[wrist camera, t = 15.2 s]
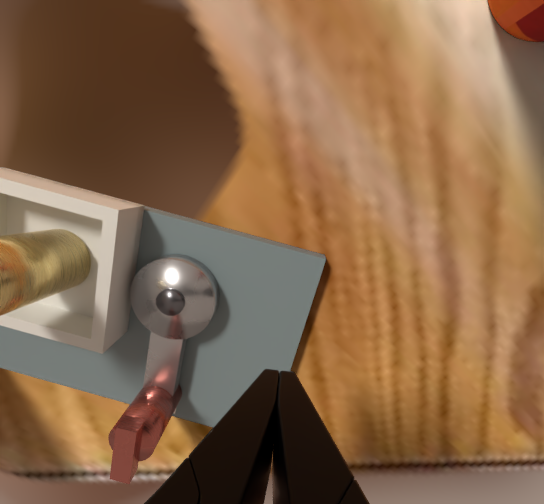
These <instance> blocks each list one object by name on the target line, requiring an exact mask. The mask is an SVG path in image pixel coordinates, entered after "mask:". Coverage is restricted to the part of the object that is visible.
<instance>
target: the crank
mask: <svg viewBox="0 0 544 504" xmlns="http://www.w3.org/2000/svg"><path fill="white" fill-rule="evenodd" d="M130 300H131V305H132V308H133V311H134V313H135V315H136V316H137V318H138V319H139V321H140V322H141V323H142V324H143V325H144V326H145V327H146V328H147V329H149V330H150V331H151V335H150V342H149V349H148V356H147V363H146V370H145V377H144V384H143V388H142V389H141V390H140V392H139V393H138V394H137V396H136V397H135V399H134V400H133V401H132V403H131V404H130V405H129V407H128V408H127V410H126V411H125V412H124V414H123V415H122V416H121V418H120V419H119V420H118V422H117V423H116V425H115V426H114V427H113V429H112V430H111V432H110V434H109V444H110V446H111V448H112V450H113V456H112V464H111V473H110V479H112V480H116V481H119V482H123V483H127V484H130V482H131V480H132V478H133V476H134V475H135V473H136V471H137V468H138V461H143V460H146V459H147V458H149V457H150V456H151V455H152V453H153V451H154V449H155V447H156V445H157V444H158V442H159V440H160V438H161V436H162V434H163V432H164V430H165V428H166V426H167V424H168V422H169V420H170V419H171V417H172V415H173V413H174V411H175V409H176V407H177V405H178V403H179V401H180V399H181V397H182V389H181V387H180V385H179V380H180V374H181V369H182V363H183V358H184V352H185V347H186V341H187V338H190V337H193V336H195V335H197V334H198V333H200V332H201V331H202V330H204V329H205V327H206V326H207V325H208V324H209V322H210V320H211V319H212V317H213V315H214V314H215V312H216V310H217V308H218V304H219V287H218V284H217V281H216V279H215V277H214V276H213V274H212V273H211V271H210V270H209V269H208V268H207V267H206V266H205V265H204V264H203V263H201V262H200V261H198V260H197V259H195V258H192V257H190V256H187V255H182V254H169V255H165V256H162V257H160V258H158V259H156V260H154V261H152V262H151V263H149V264H147V265H146V266H144V267H143V268H142V269H141V270H140V271H139V272H138V273H137V274H136V276H135V277H134V279H133V282H132V284H131V289H130Z"/></svg>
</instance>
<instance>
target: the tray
mask: <svg viewBox="0 0 544 504" xmlns="http://www.w3.org/2000/svg"><path fill="white" fill-rule="evenodd" d="M143 213H144V205H141V204H137V203H133V202H130V201H126V200H122V199H119V198H115V197H111V196H108V195H104V194H100V193H97V192H93V191H89V190H86V189H82V188H78V187H75V186H71V185H67V184H63V183H60V182H56V181H52V180H49V179H45V178H41V177H38V176H34V175H30V174H26V173H23V172H19V171H15V170H12V169H8V168H2V167H0V236H2V235H11V234H19V233H27V232H35V231H43V230H51V229H64V230H68V231H70V232H72V233H74V234H76V235H77V236H78V237H79V238H80V239H81V240H82V241H83V242H84V243H85V245H86V247H87V249H88V251H89V254H90V258H91V268H90V272H89V275H88V277H87V278H86V279H85V281H84V282H82V283H81V284H80V285H78V286H75V287H73V288H70V289H68V290H65V291H62V292H60V293H57V294H55V295H52V296H50V297H47V298H44V299H42V300H39V301H37V302H34V303H32V304H29V305H27V306H24V307H21V308H19V309H16V310H14V311H11V312H9V313H6V314H4V315H1V316H0V325H1V326H4V327H8V328H12V329H15V330H19V331H22V332H26V333H30V334H33V335H37V336H40V337H44V338H48V339H51V340H55V341H58V342H62V343H65V344H69V345H73V346H76V347H80V348H83V349H87V350H91V351H94V352H98V353H101V354H103V353H104V352H105V351H106V350H107V349H108V348H109V347H110V346H112V345H113V344H114V343H115V342H116V341H117V340H118V339H119V338H120V337H122V336H123V335H124V334H125V333H126V332H127V330H128V323H129V315H130V308H131V300H130V289H131V284H132V282H133V279H134V277H135V271H136V264H137V257H138V250H139V242H140V235H141V228H142V220H143Z"/></svg>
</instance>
